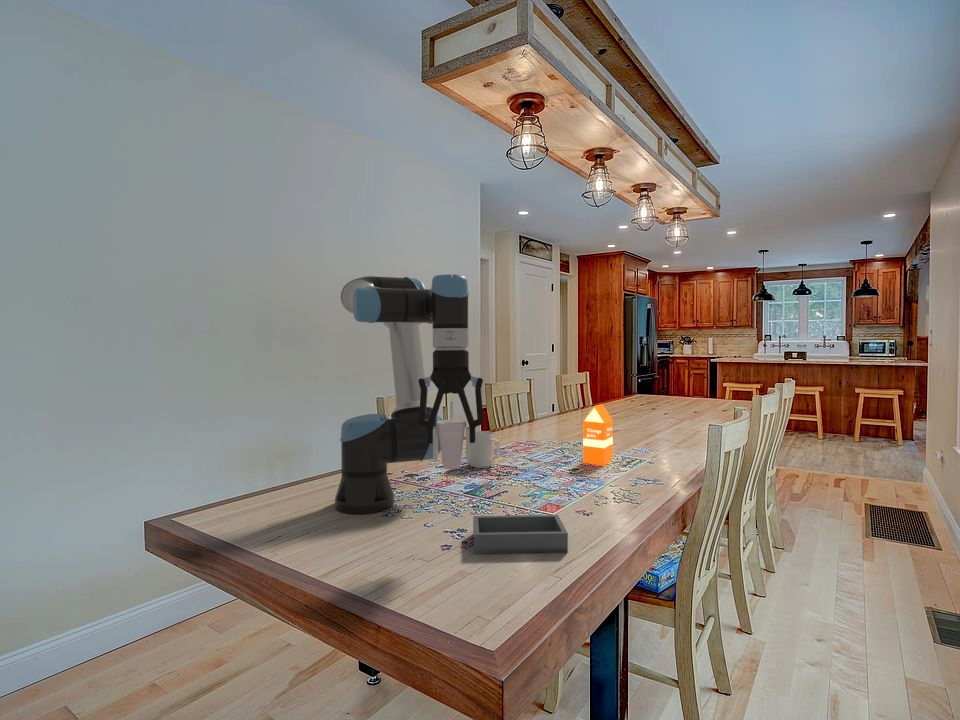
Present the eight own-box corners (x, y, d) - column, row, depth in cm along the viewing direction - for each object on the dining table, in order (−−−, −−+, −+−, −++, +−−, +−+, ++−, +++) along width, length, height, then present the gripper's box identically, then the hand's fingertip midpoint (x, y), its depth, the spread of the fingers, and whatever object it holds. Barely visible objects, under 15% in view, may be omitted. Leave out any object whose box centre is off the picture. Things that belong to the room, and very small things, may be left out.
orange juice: (612, 460, 187) (613, 404, 186) (604, 465, 179) (604, 407, 178) (591, 457, 191) (591, 402, 190) (582, 462, 183) (582, 405, 182)
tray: (473, 533, 118) (473, 516, 118) (557, 532, 119) (557, 514, 118) (474, 554, 107) (474, 534, 107) (567, 552, 108) (567, 533, 107)
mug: (462, 466, 179) (462, 434, 178) (477, 461, 186) (477, 430, 185) (491, 472, 171) (491, 438, 171) (506, 466, 179) (506, 433, 178)
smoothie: (439, 471, 108) (438, 403, 107) (434, 464, 114) (433, 400, 114) (469, 469, 109) (469, 402, 109) (463, 463, 116) (462, 399, 115)
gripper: (402, 349, 107) (403, 462, 108) (496, 348, 107) (497, 462, 108) (407, 349, 115) (408, 455, 115) (495, 348, 115) (496, 454, 115)
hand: (451, 458), depth 112 cm, fingers closed on smoothie, 6 cm apart
